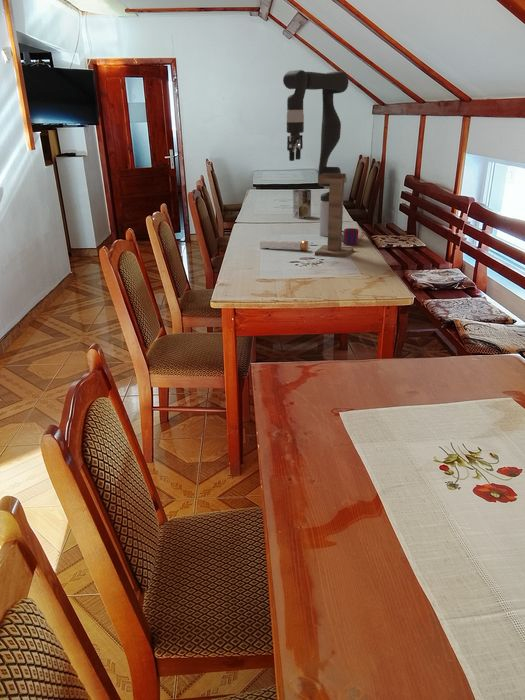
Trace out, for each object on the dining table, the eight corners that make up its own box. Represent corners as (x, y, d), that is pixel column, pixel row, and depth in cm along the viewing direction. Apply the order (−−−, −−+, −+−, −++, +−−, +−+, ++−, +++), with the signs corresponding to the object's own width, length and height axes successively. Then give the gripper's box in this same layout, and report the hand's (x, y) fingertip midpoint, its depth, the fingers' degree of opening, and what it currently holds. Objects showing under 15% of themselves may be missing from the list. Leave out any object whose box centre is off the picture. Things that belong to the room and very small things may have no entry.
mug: (357, 245, 252) (358, 231, 249) (336, 245, 253) (336, 230, 251) (357, 242, 258) (358, 228, 255) (336, 242, 259) (337, 228, 257)
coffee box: (304, 215, 332) (305, 188, 325) (311, 217, 327) (311, 189, 320) (292, 217, 327) (292, 189, 321) (298, 218, 322) (299, 190, 316)
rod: (263, 248, 253) (262, 238, 252) (308, 249, 245) (308, 240, 243) (259, 250, 250) (259, 240, 248) (305, 251, 241) (305, 242, 240)
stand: (323, 248, 247) (325, 172, 234) (353, 250, 242) (357, 172, 229) (314, 255, 235) (316, 175, 222) (345, 257, 230) (349, 176, 217)
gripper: (298, 121, 229) (297, 161, 236) (308, 120, 241) (307, 159, 248) (281, 121, 232) (281, 161, 238) (292, 121, 244) (292, 158, 250)
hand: (295, 160), depth 243 cm, fingers open, 8 cm apart
